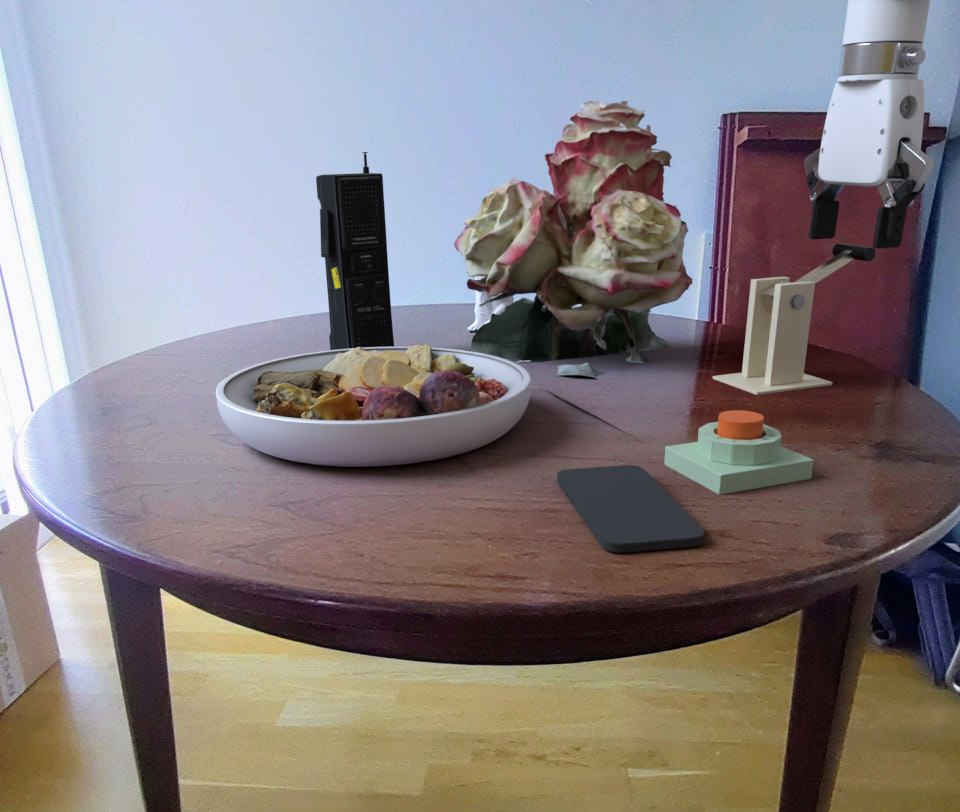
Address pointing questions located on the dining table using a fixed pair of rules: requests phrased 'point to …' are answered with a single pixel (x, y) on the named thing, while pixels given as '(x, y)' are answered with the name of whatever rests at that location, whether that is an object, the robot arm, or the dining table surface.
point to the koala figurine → (487, 307)
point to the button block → (737, 461)
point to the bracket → (776, 340)
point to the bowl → (374, 404)
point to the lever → (827, 267)
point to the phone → (628, 509)
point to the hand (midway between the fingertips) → (852, 242)
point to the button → (740, 425)
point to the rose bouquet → (580, 247)
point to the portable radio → (355, 259)
